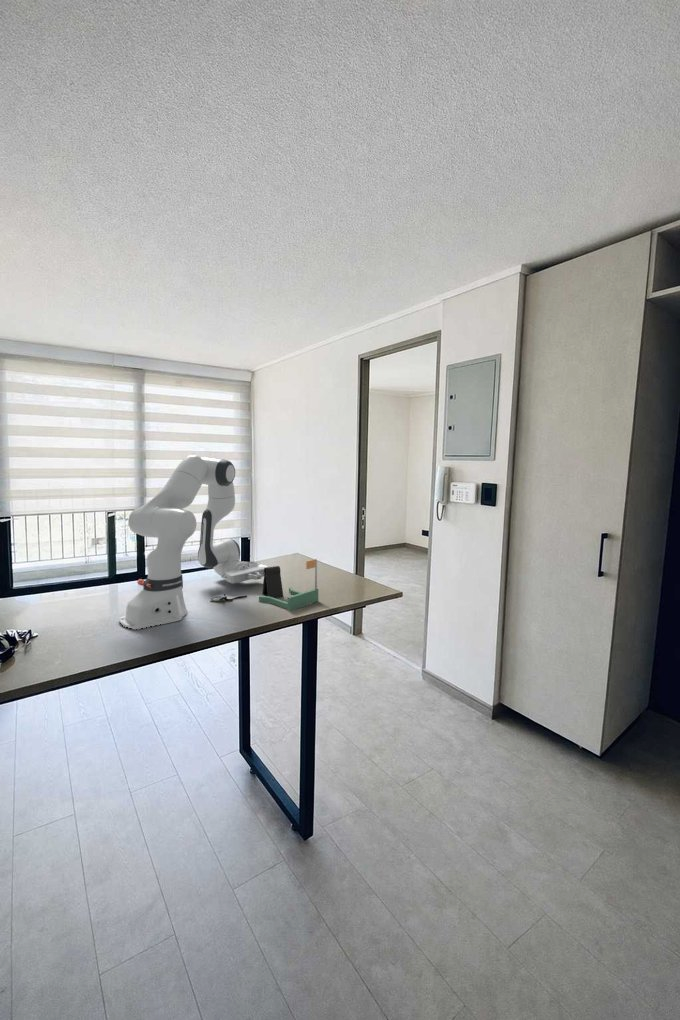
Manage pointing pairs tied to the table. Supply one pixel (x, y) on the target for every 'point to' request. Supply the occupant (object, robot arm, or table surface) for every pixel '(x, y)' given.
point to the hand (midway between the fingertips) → (258, 577)
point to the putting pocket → (296, 594)
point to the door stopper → (272, 582)
